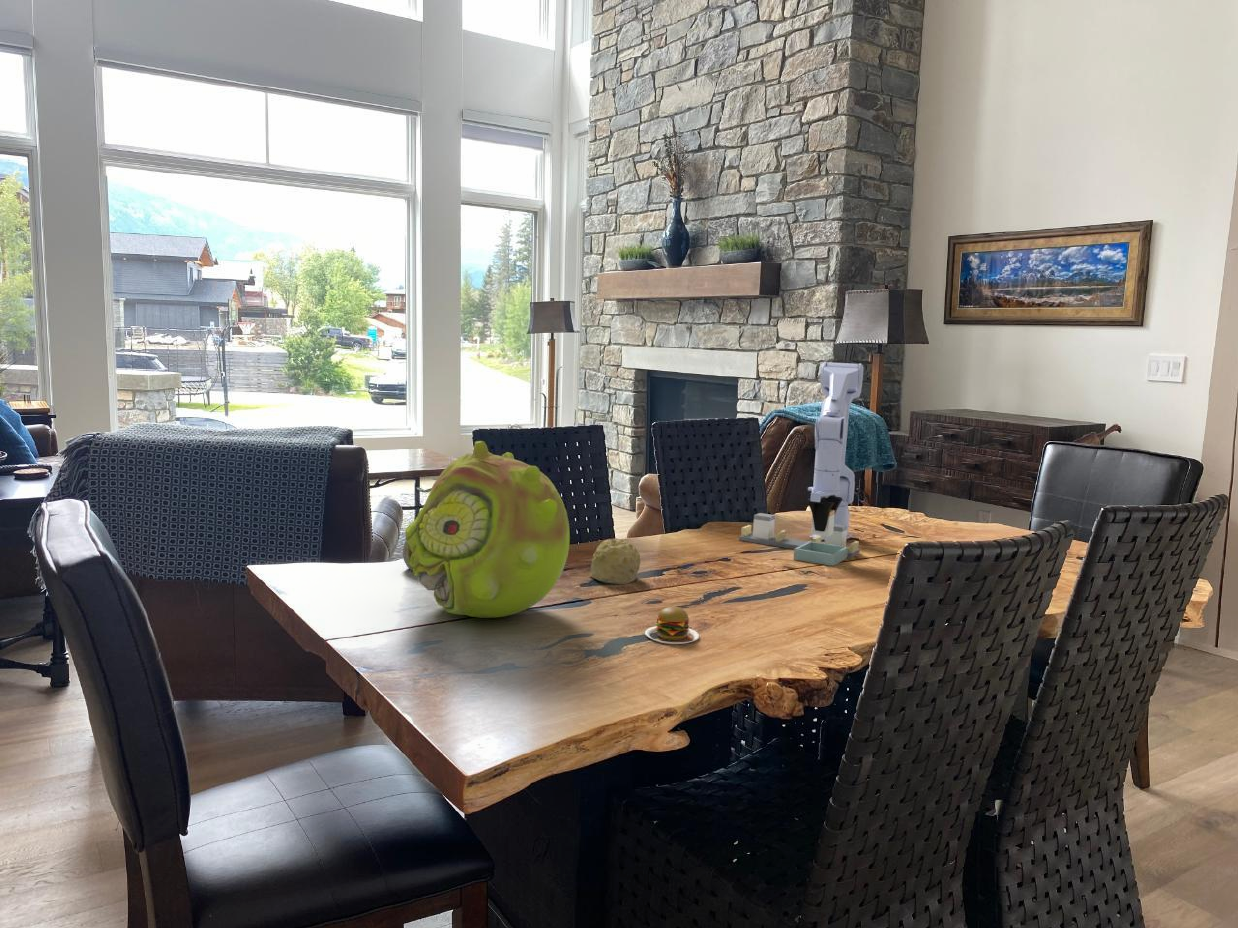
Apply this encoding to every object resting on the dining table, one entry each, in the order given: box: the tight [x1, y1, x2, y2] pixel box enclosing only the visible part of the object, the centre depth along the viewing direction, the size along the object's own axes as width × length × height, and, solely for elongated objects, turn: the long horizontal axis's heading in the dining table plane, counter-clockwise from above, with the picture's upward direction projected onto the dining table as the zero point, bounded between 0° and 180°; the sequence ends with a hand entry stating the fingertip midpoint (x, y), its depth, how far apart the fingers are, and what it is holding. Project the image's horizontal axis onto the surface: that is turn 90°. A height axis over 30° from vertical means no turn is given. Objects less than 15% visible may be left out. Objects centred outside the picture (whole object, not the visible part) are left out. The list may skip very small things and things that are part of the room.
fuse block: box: [738, 524, 861, 559], centre depth 227 cm, size 6×28×3 cm, turn 59°
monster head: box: [404, 440, 571, 619], centre depth 161 cm, size 31×28×30 cm
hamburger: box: [644, 606, 700, 645], centre depth 155 cm, size 12×12×6 cm
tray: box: [793, 540, 849, 567], centre depth 216 cm, size 10×9×2 cm
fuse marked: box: [810, 510, 835, 536], centre depth 215 cm, size 4×4×6 cm
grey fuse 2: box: [824, 524, 847, 547], centre depth 223 cm, size 4×4×6 cm
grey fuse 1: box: [752, 512, 776, 540], centre depth 232 cm, size 4×4×6 cm
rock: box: [589, 538, 641, 585], centre depth 191 cm, size 10×11×10 cm
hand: (822, 529), depth 215 cm, fingers closed on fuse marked, 4 cm apart
